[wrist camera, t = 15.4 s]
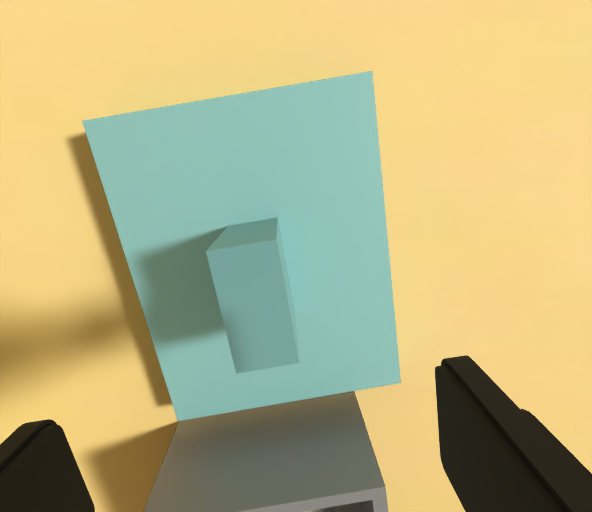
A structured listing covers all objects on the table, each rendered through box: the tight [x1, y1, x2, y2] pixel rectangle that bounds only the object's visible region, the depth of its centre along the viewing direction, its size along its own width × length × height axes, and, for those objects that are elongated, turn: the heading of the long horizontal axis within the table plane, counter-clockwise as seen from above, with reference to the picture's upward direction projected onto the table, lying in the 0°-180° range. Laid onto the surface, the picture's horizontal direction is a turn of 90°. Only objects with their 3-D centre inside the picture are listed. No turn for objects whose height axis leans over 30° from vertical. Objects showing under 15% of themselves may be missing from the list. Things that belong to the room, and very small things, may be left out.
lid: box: [82, 71, 401, 421], centre depth 19 cm, size 16×20×8 cm
